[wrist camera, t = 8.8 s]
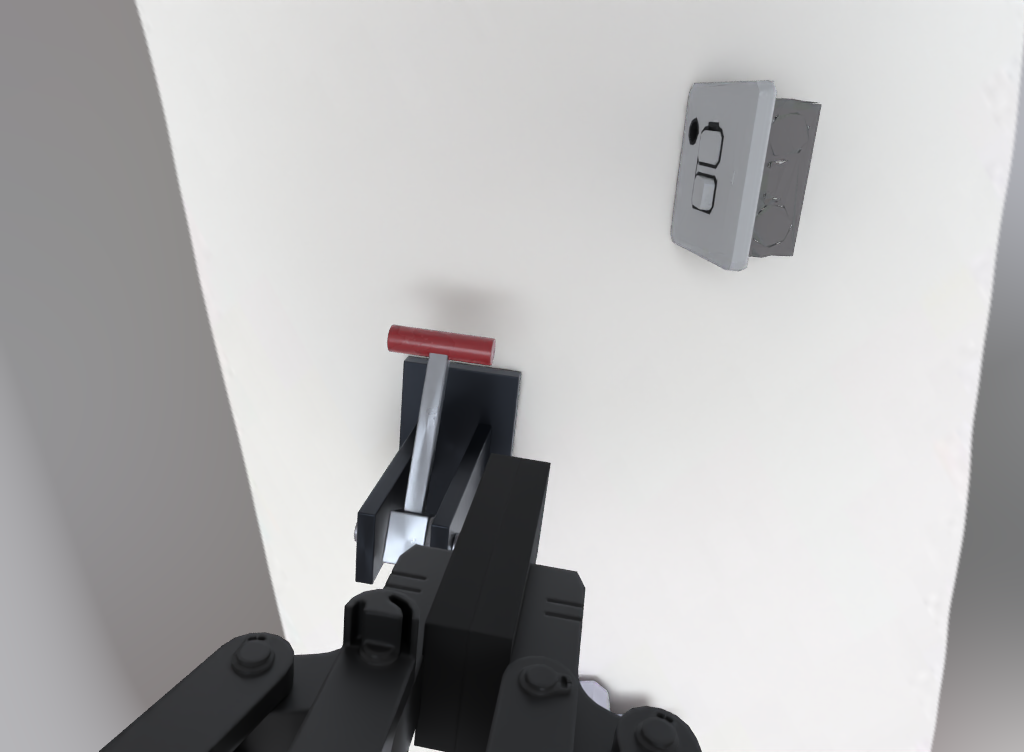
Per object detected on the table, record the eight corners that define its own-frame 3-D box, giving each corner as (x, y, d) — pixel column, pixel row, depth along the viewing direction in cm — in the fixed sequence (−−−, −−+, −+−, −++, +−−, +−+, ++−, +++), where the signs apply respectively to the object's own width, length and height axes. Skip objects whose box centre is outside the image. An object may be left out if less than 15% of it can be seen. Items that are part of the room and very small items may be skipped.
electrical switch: (689, 81, 44) (724, 76, 36) (777, 87, 44) (834, 83, 35) (668, 240, 48) (695, 271, 39) (750, 246, 47) (796, 279, 39)
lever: (398, 328, 45) (388, 320, 42) (497, 342, 44) (492, 335, 42) (359, 551, 43) (347, 556, 41) (461, 569, 43) (455, 574, 40)
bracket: (408, 355, 53) (331, 443, 39) (521, 371, 52) (483, 467, 38) (400, 506, 57) (327, 633, 43) (504, 523, 56) (465, 658, 42)
